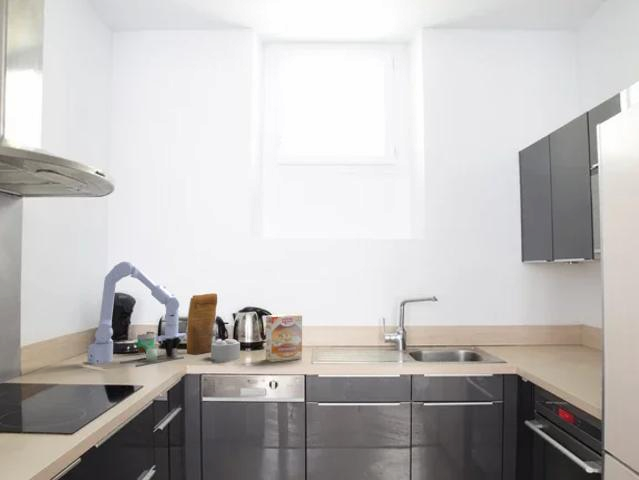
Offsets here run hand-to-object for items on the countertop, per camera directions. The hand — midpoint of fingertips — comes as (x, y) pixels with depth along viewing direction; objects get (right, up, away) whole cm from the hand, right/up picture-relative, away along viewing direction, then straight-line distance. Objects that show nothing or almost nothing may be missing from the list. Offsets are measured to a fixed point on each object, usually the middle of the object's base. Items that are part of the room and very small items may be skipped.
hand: (171, 355), depth 220 cm
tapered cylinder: (-6, 0, -8) cm, 10 cm away
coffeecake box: (+50, -2, +1) cm, 50 cm away
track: (-6, -1, -8) cm, 10 cm away
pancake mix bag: (+9, -3, +17) cm, 20 cm away
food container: (-14, -3, +12) cm, 19 cm away
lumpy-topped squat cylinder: (+23, -2, +1) cm, 23 cm away
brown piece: (-4, -1, -5) cm, 7 cm away
